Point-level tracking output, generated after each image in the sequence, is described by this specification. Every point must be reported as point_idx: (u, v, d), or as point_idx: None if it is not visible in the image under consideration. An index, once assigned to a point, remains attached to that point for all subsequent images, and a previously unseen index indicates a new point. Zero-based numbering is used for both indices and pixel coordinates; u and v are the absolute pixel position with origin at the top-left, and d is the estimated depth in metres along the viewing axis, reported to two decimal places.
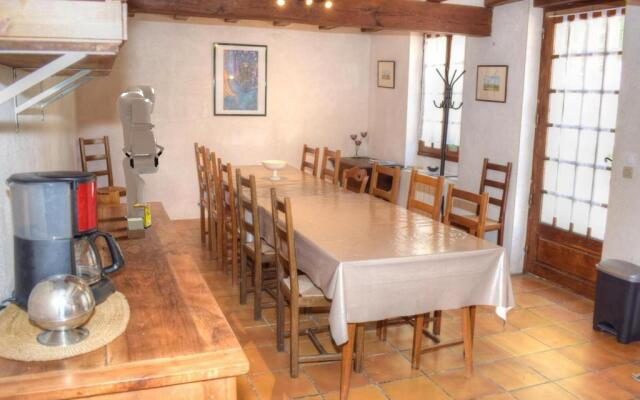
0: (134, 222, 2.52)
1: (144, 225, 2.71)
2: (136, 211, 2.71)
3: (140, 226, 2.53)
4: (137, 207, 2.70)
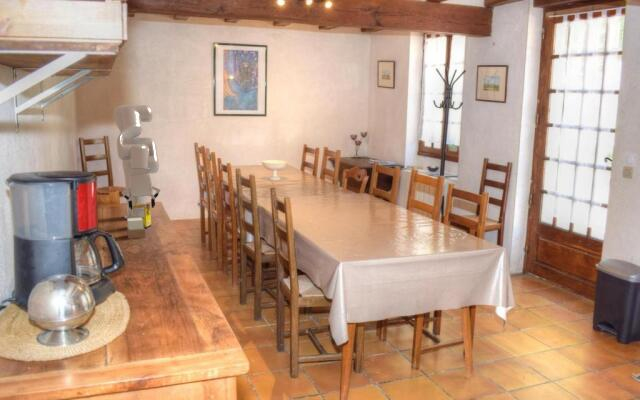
0: (134, 222, 2.52)
1: (144, 225, 2.71)
2: (136, 211, 2.71)
3: (140, 226, 2.53)
4: (137, 207, 2.70)
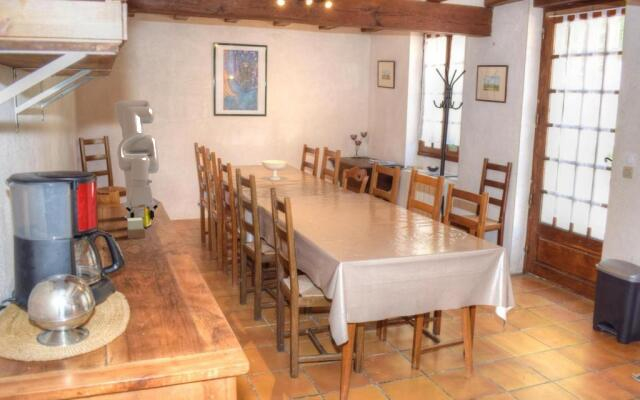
0: (134, 222, 2.52)
1: (144, 225, 2.71)
2: (136, 211, 2.71)
3: (139, 226, 2.54)
4: (137, 207, 2.70)
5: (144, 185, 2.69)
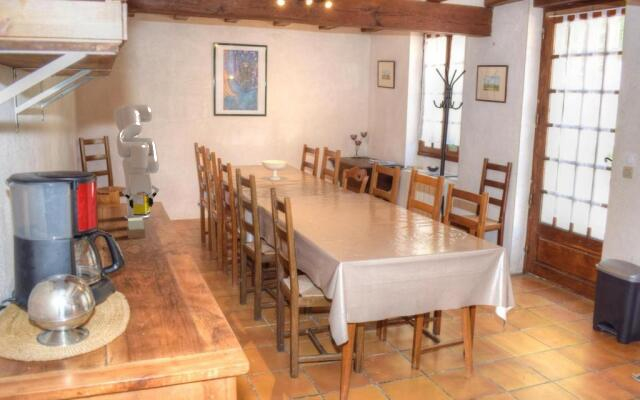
0: (134, 222, 2.53)
1: (143, 212, 2.72)
2: (135, 198, 2.71)
3: (140, 226, 2.54)
4: (136, 194, 2.70)
5: (143, 173, 2.68)
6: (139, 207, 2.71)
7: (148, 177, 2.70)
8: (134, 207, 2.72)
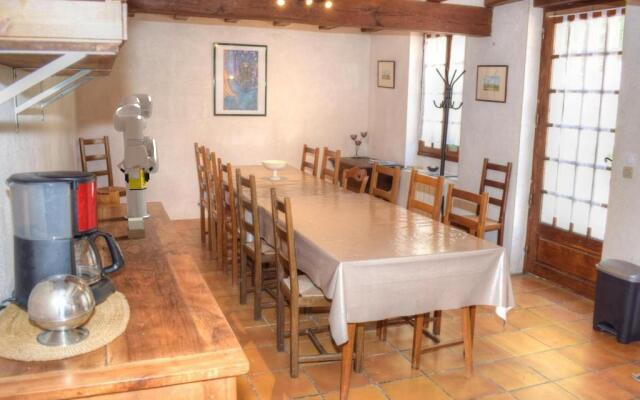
0: (134, 222, 2.53)
1: (139, 187, 2.60)
2: (130, 172, 2.59)
3: (140, 226, 2.54)
4: (132, 168, 2.59)
5: (139, 145, 2.58)
6: (135, 181, 2.60)
7: (144, 150, 2.60)
8: (130, 181, 2.60)
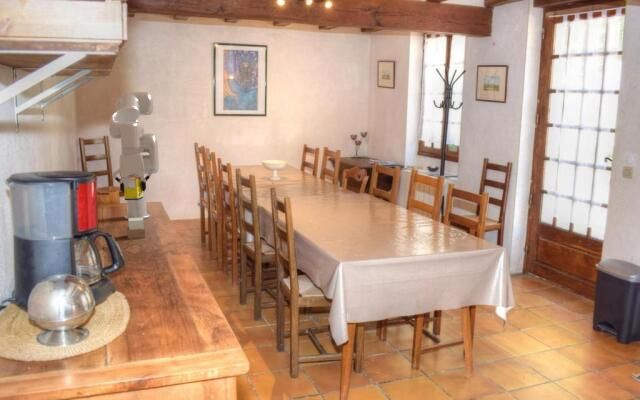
0: (134, 222, 2.52)
1: (135, 197, 2.50)
2: (126, 181, 2.49)
3: (140, 226, 2.54)
4: (127, 177, 2.49)
5: (135, 153, 2.47)
6: (131, 191, 2.50)
7: (140, 158, 2.50)
8: (125, 191, 2.50)
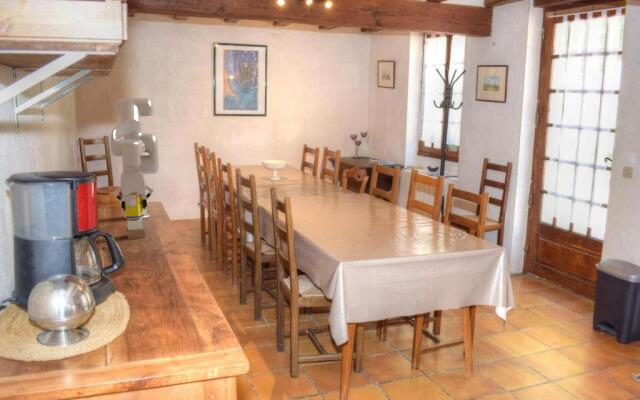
0: (133, 222, 2.52)
1: (136, 214, 2.52)
2: (127, 199, 2.51)
3: (139, 226, 2.53)
4: (128, 195, 2.51)
5: (136, 171, 2.49)
6: (132, 209, 2.51)
7: (141, 176, 2.51)
8: (126, 209, 2.52)
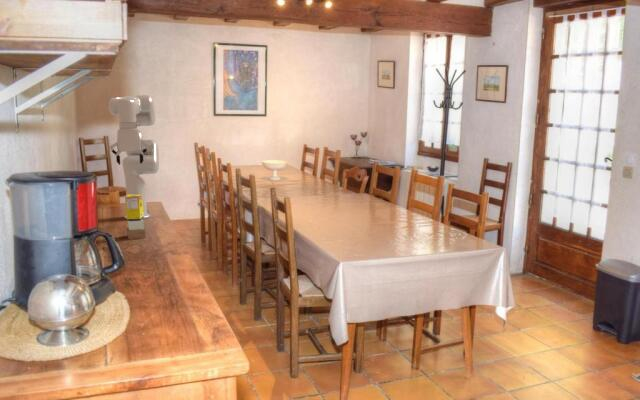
0: (134, 222, 2.52)
1: (137, 217, 2.52)
2: (128, 202, 2.50)
3: (140, 226, 2.53)
4: (130, 198, 2.50)
5: (131, 128, 2.62)
6: (133, 212, 2.51)
7: (137, 133, 2.65)
8: (127, 212, 2.51)
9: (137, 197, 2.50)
